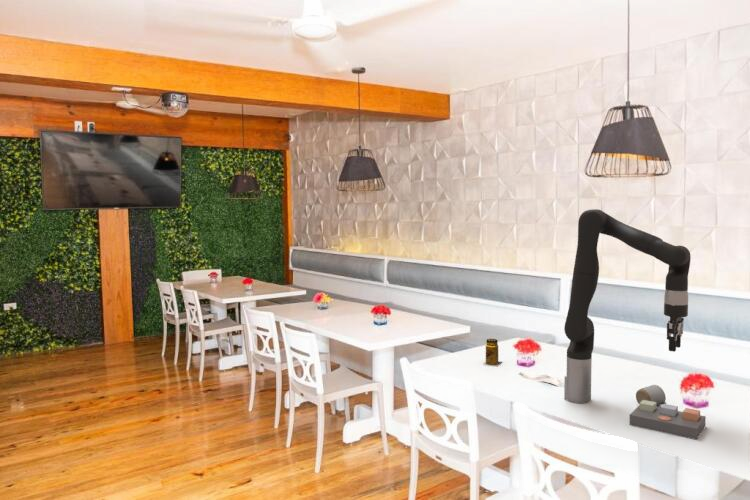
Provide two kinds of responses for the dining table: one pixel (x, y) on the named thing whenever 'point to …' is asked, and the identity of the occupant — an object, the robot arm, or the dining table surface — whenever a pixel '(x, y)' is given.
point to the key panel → (667, 423)
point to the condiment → (492, 353)
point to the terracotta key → (691, 414)
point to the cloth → (544, 379)
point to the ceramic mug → (651, 395)
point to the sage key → (647, 406)
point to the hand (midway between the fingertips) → (674, 348)
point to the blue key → (669, 410)
